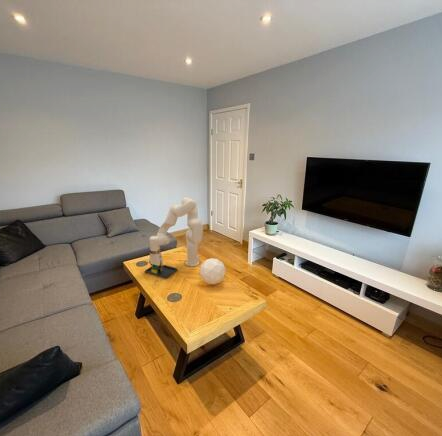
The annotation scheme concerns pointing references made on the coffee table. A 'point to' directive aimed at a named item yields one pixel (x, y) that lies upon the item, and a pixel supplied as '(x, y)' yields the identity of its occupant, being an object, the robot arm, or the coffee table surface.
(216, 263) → the geometric sphere
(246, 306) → the coffee table surface
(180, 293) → the coffee table surface
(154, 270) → the sponge
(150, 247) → the robot arm
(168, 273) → the tray
